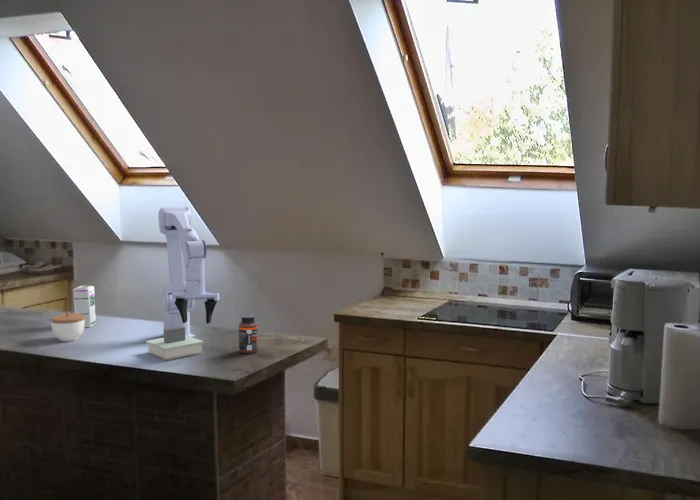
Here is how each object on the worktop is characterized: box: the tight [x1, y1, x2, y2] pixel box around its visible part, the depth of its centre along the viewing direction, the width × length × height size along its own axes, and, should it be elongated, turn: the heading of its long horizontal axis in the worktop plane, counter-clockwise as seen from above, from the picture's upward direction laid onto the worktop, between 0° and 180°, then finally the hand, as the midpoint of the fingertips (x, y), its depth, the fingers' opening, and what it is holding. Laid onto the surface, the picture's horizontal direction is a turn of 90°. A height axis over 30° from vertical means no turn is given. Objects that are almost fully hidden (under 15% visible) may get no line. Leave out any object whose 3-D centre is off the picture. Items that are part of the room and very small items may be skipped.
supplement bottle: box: [238, 314, 259, 354], centre depth 225 cm, size 6×6×11 cm
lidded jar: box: [50, 311, 85, 342], centre depth 243 cm, size 11×11×9 cm
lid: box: [145, 326, 205, 351], centre depth 224 cm, size 13×13×5 cm
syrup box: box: [72, 285, 98, 329], centre depth 262 cm, size 6×6×14 cm
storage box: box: [147, 344, 203, 361], centre depth 224 cm, size 12×12×3 cm
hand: (196, 322), depth 223 cm, fingers open, 7 cm apart
